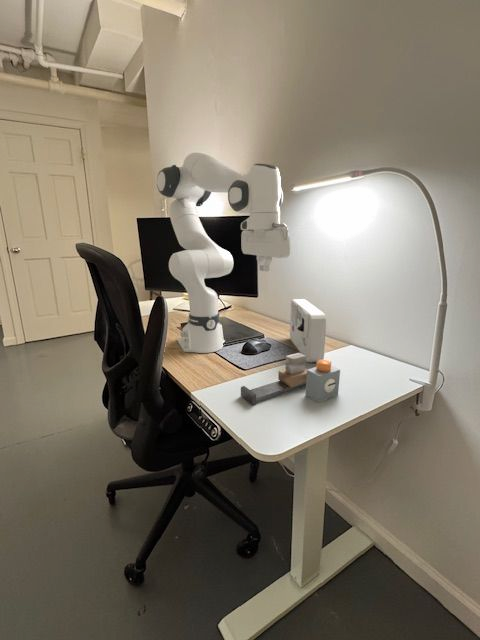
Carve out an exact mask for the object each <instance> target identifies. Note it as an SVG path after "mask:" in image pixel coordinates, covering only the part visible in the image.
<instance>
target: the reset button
mask: <svg viewBox="0 0 480 640" xmlns="http://www.w3.org/2000/svg"><path fill="white" fill-rule="evenodd" d="M331 366H332V362H331V361H330V360H328V359H323V360H318V361H317V362H316V366H315V367H316V369H317V370H318V371H321V372H329V371H331Z"/></svg>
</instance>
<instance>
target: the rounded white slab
mask: <svg viewBox="0 0 480 640" xmlns="http://www.w3.org/2000/svg"><path fill="white" fill-rule="evenodd" d="M289 315H290V317H289V318H290V320H289V321H290V322H289V338H290V341H291V343H292V344H293V345H294V346H295V348H296V349H297V351H298V352H299V353H301V354H303V355H305V362H307V363H317V361H318V360H325V359H324V358H325V348H326V347H325V346H326V345H325V344H326V331H327V330H326V329H327V316H326V314H325V312H323V311H321V310H320V309H319V308H318V307H316V306H315V305H313V304H312V303H311V302H309V301H308V300H306V299H305V298H300V299H297V298H296V299H291V300H290V314H289Z"/></svg>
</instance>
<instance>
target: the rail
mask: <svg viewBox="0 0 480 640" xmlns="http://www.w3.org/2000/svg"><path fill="white" fill-rule="evenodd" d="M301 388H306V383H303V384H300V385H296V386H293V387H290V386H288V385H286V384H285V383H283V382H282V381H280V380H277V381H275V382H271V383H268V384H264V385H261V386H258V387H254V388H252V389H250V388H248V387H246V386H245V385H242V386H240V397H241V398H242V399H243V400H245V401H246V402H247V403H248V404H250V405H251V406H256V405H257V404H258V403H260V402H263V401H267V400H269V399H273V398H275V397H278V396H281V395H286V394H288V393H290V392H293V391H296V390H299V389H301Z"/></svg>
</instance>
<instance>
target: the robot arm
mask: <svg viewBox="0 0 480 640" xmlns="http://www.w3.org/2000/svg"><path fill="white" fill-rule="evenodd" d="M281 185H282V184H281V175H280V170H279V168H278V167H277V166H276V165H274V164H268V163H267V164H266V163H254V164H252V165H251V167H250V169H249V171H248V172H247V173H246V174H244V173H242V172H239V171H238V170H236V169H234V168H232V167H230V166H228V165H226V164H224V163H223V162H222V161H220V160H218V159H216V158H214V157H213V156H211V155H210V154H209V155H208V154H205V153H202V152H191V153H189V154H188V155H186V157H185V158H184V160H183V164H182V165H181V166H178V165H176V164H172V165H171V166H168V167H164V168H162V169H161V170H159V172H158V174H157V177H156V188H157V190H158V192H159V194H161V195H162V196H163V197H166V198H170V199H171V198H173V199H175V200H173V201H172V202H171V203H170V205H169V218H170V222H171V225H172V228H173V231H174V233H175V236H176V239H177V241H178V244H179V245H180V247H182V248H183V249H184V250H180V251H178V252H174V253H172V255H171V256H170V258H169V261H168V270H169V272H170V274H171V276H172V277H173V278H174V279H175V280H177V281H179V282H180V283H181V285H182V286H183V287H184V288H185V291H186V293H187V296H188V302H189V313H188V319H187V321H188V323H187V322H186V323H187V324H186V325H184V326H183V327H182V331H180V337H178V338H177V343H178V344H179V346H180V347H181V350H182V351H183V352H184V353H197V354H198V353H199V354H207V353H214V352H217V351H220V350H222V349H223V347H224V345H223V343H224V342H225V341H226V340H225V339H224V333H223V326H222V324H221V323H220V317H221V316H220V313H219V301H218V300H219V297H218V293H217V292H216V291H215V289H212V288H211V287H208V286H206V283H205V279H212V278H220V277H223V276H227V275H230V274H231V273H232V271H233V269H234V258H233V255H232V254H231V252H230V251H228V250H227V249H224V248H222V247H221V246H219V245H218V244H217V243H216V242H215V241H214V240H212V239H211V238H210V236H208V234H207V232H206V230H205V228H204V227H203V223H202V222H201V220H200V217H199V214H198V212H197V209H196V207H201V206H202V205H204V203H205V202H207V200H208V199H209V198H210V196H211V194H212V193H224V194H225V193H227V200H228V204H229V205H230V208H231V209H232V210H233V211H234V212H237V213H242V214H249V217H247V218H246V219H245V220H243V221H242V222H241V223H240V230H241V235H240V237H241V241H240V242H241V245H240V246H241V252H242V254H243V255H252V256H256V261H257V264H258V270H259V272H260V271H261V272H269V271H270V265H271V264H272V261H273V258H277V259H282V258H285V259H286V258H289V256H290V254H291V241H290V240H291V239H290V233H289V227H287V225H286V224H285V223H282V222H281V207H282V205H283V203H284V192H283V189H282V186H281Z"/></svg>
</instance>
